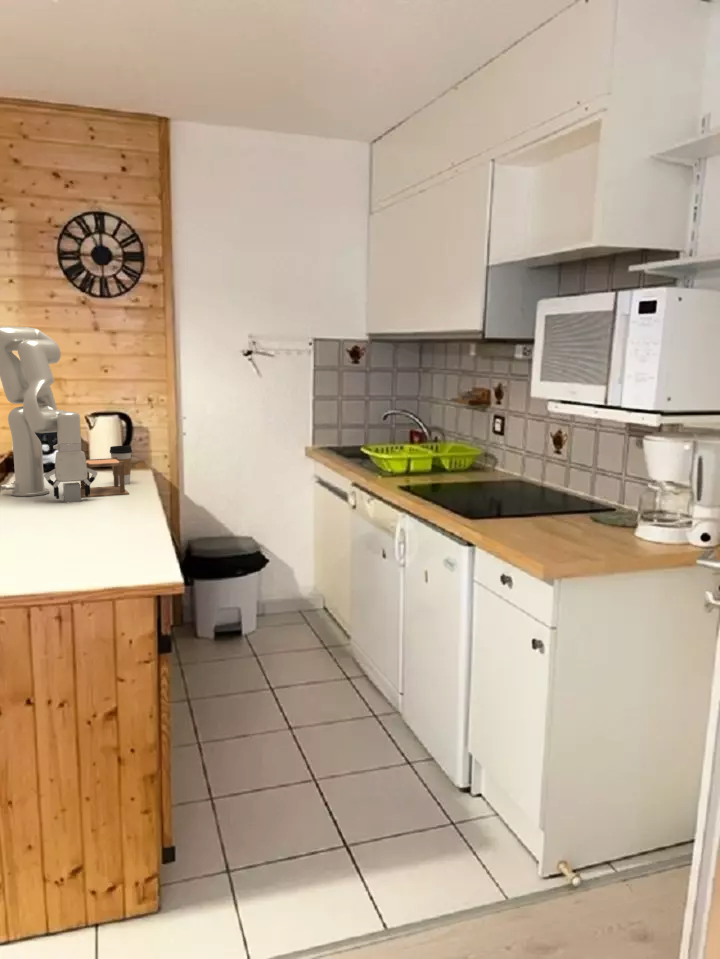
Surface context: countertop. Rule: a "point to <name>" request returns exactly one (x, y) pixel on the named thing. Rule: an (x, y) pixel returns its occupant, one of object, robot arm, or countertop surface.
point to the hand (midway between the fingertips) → (72, 497)
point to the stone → (72, 492)
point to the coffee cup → (123, 455)
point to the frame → (108, 489)
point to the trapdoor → (102, 461)
